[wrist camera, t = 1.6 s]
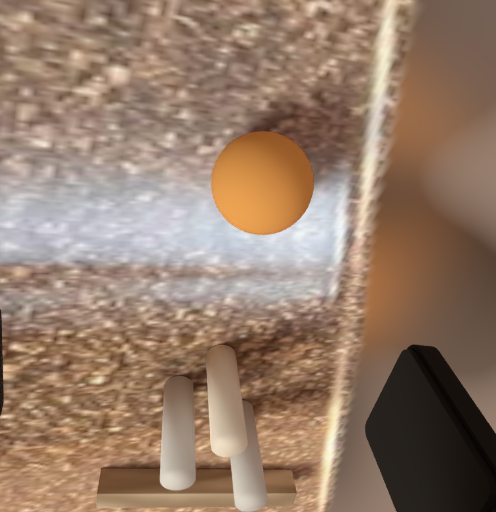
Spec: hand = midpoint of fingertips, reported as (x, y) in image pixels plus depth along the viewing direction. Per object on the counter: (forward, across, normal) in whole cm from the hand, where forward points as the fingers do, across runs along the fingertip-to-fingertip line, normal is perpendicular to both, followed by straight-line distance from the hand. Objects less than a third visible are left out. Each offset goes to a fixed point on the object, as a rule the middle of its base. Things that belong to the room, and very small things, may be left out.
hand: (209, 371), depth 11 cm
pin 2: (+20, -8, +24) cm, 32 cm away
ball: (+18, -4, +2) cm, 18 cm away
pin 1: (+20, -3, +21) cm, 30 cm away
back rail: (+20, -6, +33) cm, 39 cm away
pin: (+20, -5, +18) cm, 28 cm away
